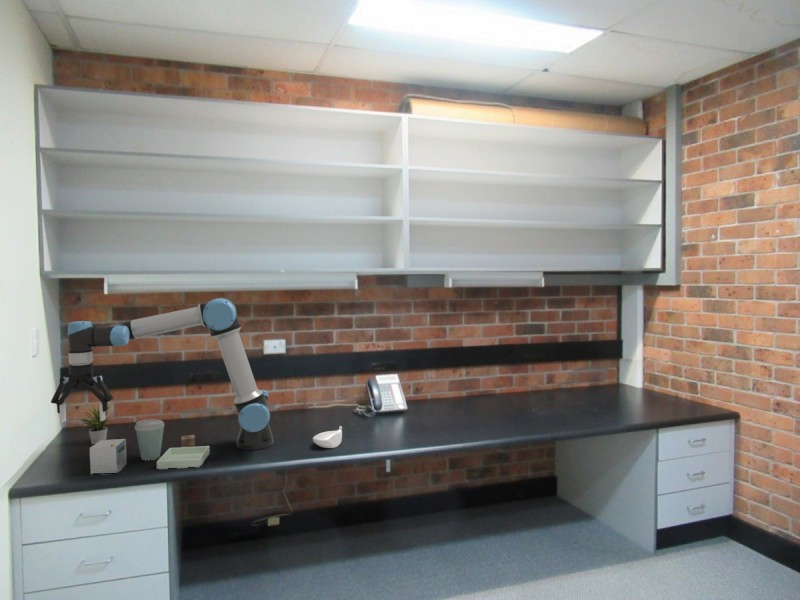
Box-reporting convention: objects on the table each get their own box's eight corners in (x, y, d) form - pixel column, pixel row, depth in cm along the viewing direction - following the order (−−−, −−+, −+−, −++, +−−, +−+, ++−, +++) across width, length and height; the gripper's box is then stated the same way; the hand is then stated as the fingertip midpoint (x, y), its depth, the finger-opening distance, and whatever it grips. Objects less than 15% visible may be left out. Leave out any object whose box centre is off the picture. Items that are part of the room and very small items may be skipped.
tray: (209, 453, 210) (209, 445, 209) (200, 467, 194) (199, 459, 194) (169, 455, 208) (169, 448, 208) (156, 469, 192) (156, 461, 192)
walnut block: (194, 446, 219) (194, 434, 219) (195, 449, 214) (194, 438, 214) (181, 447, 217) (181, 436, 217) (181, 451, 212) (181, 439, 212)
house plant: (98, 436, 233) (96, 400, 233) (125, 437, 231) (124, 401, 230) (72, 446, 219) (71, 408, 219) (101, 448, 217) (99, 410, 216)
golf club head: (348, 425, 218) (323, 418, 213) (343, 451, 214) (317, 444, 209) (338, 427, 227) (313, 420, 222) (332, 452, 222) (307, 445, 217)
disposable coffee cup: (159, 452, 212) (158, 415, 211) (170, 458, 204) (169, 420, 204) (131, 458, 204) (130, 421, 203) (141, 465, 197) (140, 426, 196)
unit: (127, 464, 198) (126, 437, 197) (117, 473, 189) (116, 445, 188) (100, 466, 197) (99, 439, 196) (89, 475, 188) (88, 446, 187)
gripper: (121, 360, 194) (123, 416, 195) (49, 362, 191) (52, 419, 192) (113, 364, 187) (114, 422, 188) (38, 366, 184) (40, 425, 185)
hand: (83, 421), depth 190 cm, fingers open, 13 cm apart
